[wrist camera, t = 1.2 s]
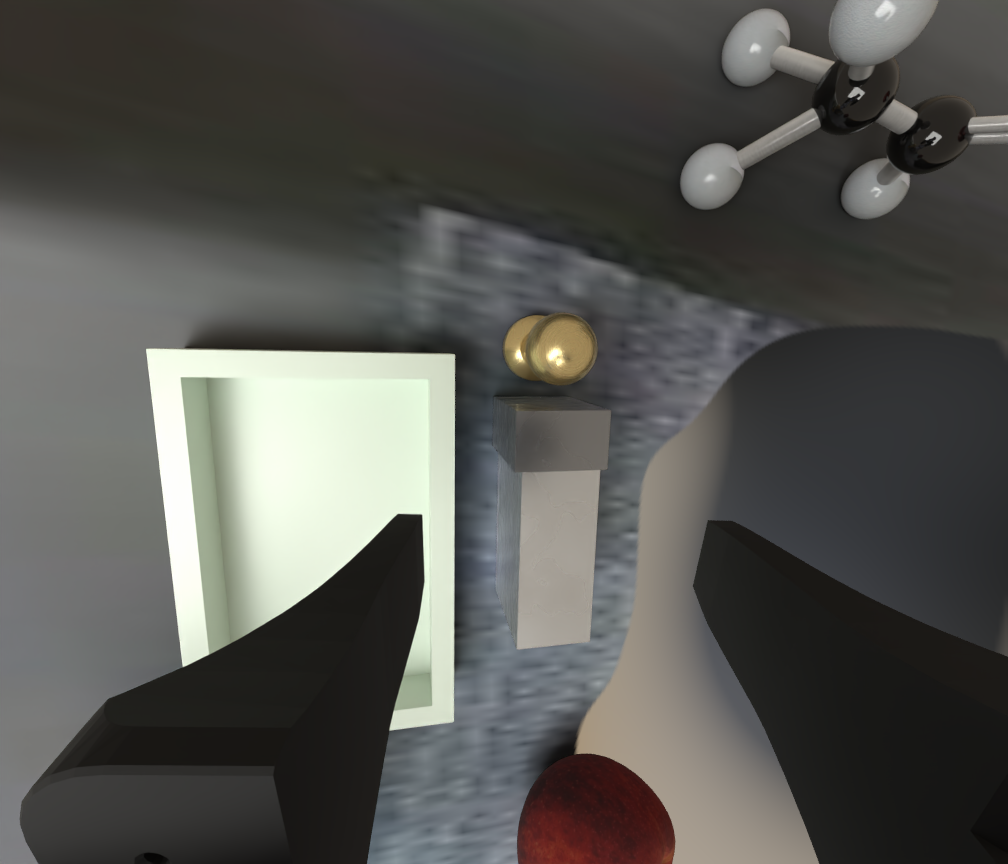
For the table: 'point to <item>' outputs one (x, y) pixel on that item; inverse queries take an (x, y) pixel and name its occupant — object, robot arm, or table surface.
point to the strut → (547, 514)
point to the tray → (305, 489)
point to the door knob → (551, 348)
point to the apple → (593, 816)
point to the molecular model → (844, 104)
